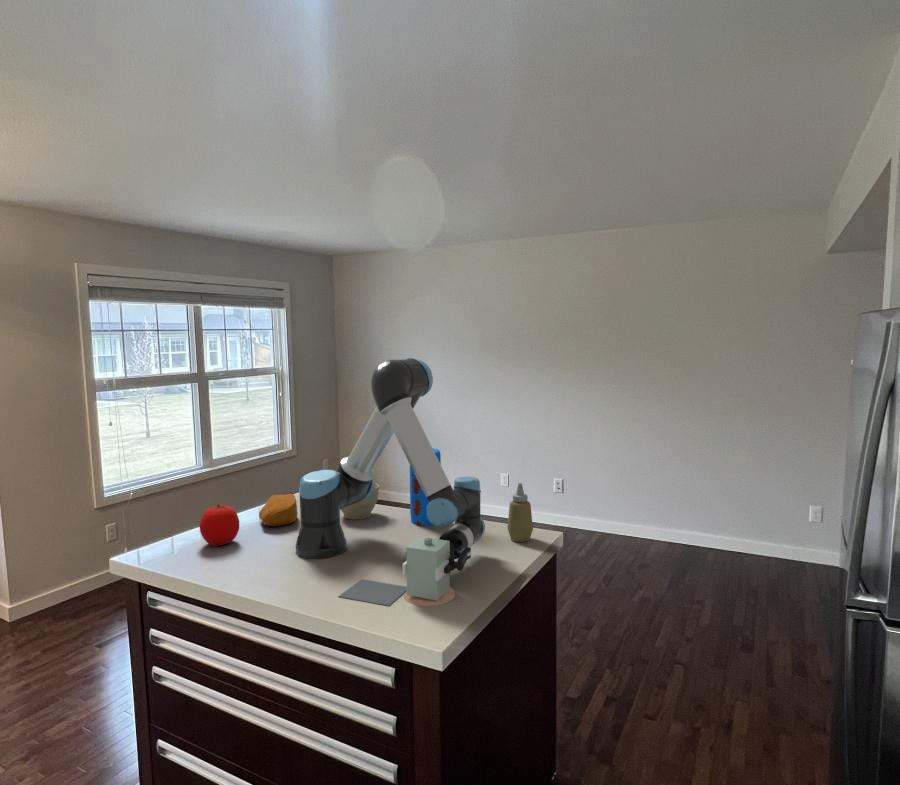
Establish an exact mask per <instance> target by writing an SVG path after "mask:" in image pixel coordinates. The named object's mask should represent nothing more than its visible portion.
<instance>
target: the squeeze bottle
mask: <svg viewBox="0 0 900 785" xmlns="http://www.w3.org/2000/svg"><path fill="white" fill-rule="evenodd" d="M515 492H516V493H514V494H512V501H510V502H509V509H508V517H507V525H506V526H507V530H508V533H509V534H508V535H509V537H510V540H511V541H513V542H517V543H524V542H525V543H526V542H529V540H531V536H532V533H533V530H534V527H533V526H534V525H533V515H532V505H531V502H530V501H529V500H528V494H526V493H525V491H524V487H523V483H517V488H516V491H515Z"/></svg>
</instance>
